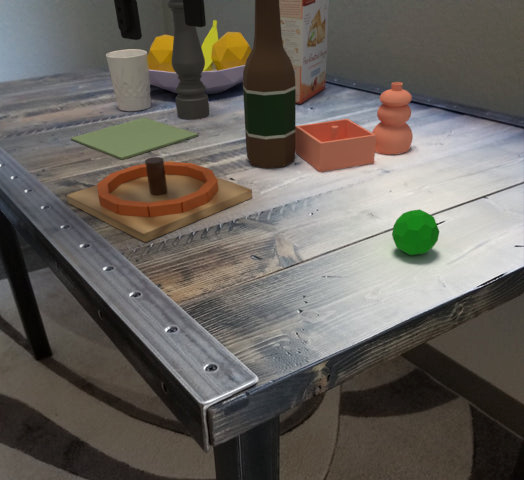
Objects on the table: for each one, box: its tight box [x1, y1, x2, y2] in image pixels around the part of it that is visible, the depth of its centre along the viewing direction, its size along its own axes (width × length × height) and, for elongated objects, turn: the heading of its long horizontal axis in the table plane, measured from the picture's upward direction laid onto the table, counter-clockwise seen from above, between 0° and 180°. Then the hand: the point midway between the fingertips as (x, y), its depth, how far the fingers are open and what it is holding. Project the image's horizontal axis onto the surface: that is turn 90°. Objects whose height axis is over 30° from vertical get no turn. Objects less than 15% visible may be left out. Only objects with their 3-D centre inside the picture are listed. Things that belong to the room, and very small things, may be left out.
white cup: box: [105, 48, 152, 112], centre depth 116 cm, size 8×8×10 cm
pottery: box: [295, 81, 414, 173], centre depth 89 cm, size 18×10×10 cm, turn 110°
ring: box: [96, 161, 218, 217], centre depth 79 cm, size 16×16×1 cm
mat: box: [70, 117, 199, 161], centre depth 102 cm, size 16×16×1 cm
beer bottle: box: [242, 0, 297, 170], centre depth 84 cm, size 8×8×24 cm
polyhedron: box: [391, 208, 440, 257], centre depth 64 cm, size 5×5×5 cm
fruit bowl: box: [147, 19, 252, 95], centre depth 128 cm, size 28×27×11 cm
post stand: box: [65, 156, 253, 243], centre depth 78 cm, size 18×18×6 cm
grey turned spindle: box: [167, 0, 210, 120], centre depth 105 cm, size 6×6×25 cm
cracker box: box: [279, 0, 330, 105], centre depth 116 cm, size 14×6×21 cm, turn 154°
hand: (165, 32), depth 69 cm, fingers open, 9 cm apart
